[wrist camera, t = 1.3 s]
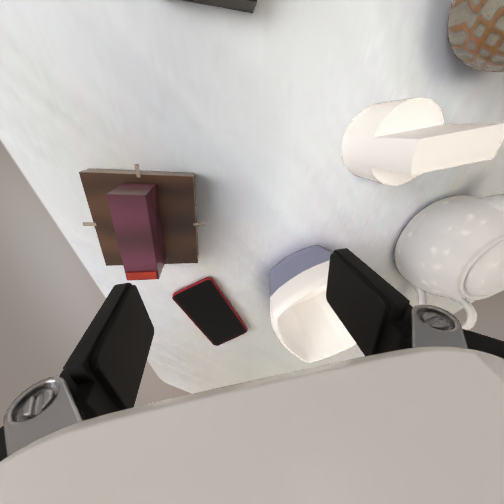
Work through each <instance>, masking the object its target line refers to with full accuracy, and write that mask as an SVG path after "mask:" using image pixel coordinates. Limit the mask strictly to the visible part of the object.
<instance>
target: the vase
mask: <svg viewBox="0 0 504 504" xmlns="http://www.w3.org/2000/svg"><path fill="white" fill-rule="evenodd" d="M448 35H449V41H450V45H451V48H452V50H453V52H454V54H455V55H456V56H457V57H458V59H459V60H461V61H462V62H463V63H464V64H466V65H468V66H469V67H472V68H475V69H478V70H481V71H488V72H504V0H453V2H452V5H451V9H450V14H449V21H448Z"/></svg>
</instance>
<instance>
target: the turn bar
mask: <svg viewBox="0 0 504 504" xmlns="http://www.w3.org/2000/svg"><path fill="white" fill-rule="evenodd" d="M106 197H107V201H108V205H109V209H110V213H111V217H112V221H113V225H114V229H115V233H116V237H117V241H118V245H119V249H120V253H121V257H122V261H123V265H124V269H125V273H126V278H127V280H148V279H159V277H160V274H161V271H162V268H163V265H164V262H165V259H166V255H165V247H164V240H163V233H162V225H161V218H160V210H159V203H158V196H157V188H156V184H137V183H123V184H121V185H120V186H118V187H117V188H115V189H113V190H112V191H110V192H109V193H107V194H106Z"/></svg>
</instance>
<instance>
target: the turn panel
mask: <svg viewBox="0 0 504 504" xmlns="http://www.w3.org/2000/svg"><path fill="white" fill-rule="evenodd" d="M135 169H136V170H113V169H87V170H84V171H81V172H79V174H80V177H81V181H82V184H83V188H84V191H85V194H86V198H87V201H88V205H89V208H90V211H91V215H92V218H93V222H94V223H83V225H84V226H95V229H96V232H97V235H98V239H99V242H100V246H101V249H102V253H103V256H104V259H105V263H106V266H108V265H123V261H122V257H121V253H120V249H119V245H118V241H117V237H116V233H115V229H114V225H113V221H112V217H111V213H110V209H109V205H108V201H107V197H106V194H107V193H109V192H110V191H112V190H113V189H115V188H117V187H118V186H120V185H121V184H123V183H137V184H156V188H157V196H158V203H159V210H160V218H161V225H162V233H163V240H164V247H165V255H166V259H165V262H164V264H176V263H198V255H199V253H198V234H197V226H204V223H197V215H196V196H195V178H194V173H182V172H159V171H139V165H138V164H135Z"/></svg>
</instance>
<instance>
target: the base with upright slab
mask: <svg viewBox="0 0 504 504" xmlns="http://www.w3.org/2000/svg"><path fill="white" fill-rule="evenodd" d="M503 137H504V123H469V124H444V118H443V114H442V112H441V109H440V107H439V106H438V105H437V104H436V103H435V102H434V101H432V100H430V99H427V98H410V99H404V100H397V101H391V102H384V103H378V104H374V105H371V106H368V107H367V108H365V109H364V110H362V111H361V112H360V113H359V114H358V115H357V116H356V117H355V118H354V119H353V120H352V122H351V123H350V125H349V126H348V128H347V130H346V133H345V135H344V138H343V143H342V159H343V162H344V165H345V166H346V168H347V169H348V170H349V171H350V172H351V173H353V174H354V175H356V176H360V177H363V178H366V179H369V180H373V181H376V182H379V183H382V184H386V185H390V186H393V185H401V184H404V183H407V182H409V181H410V180H412V179H414V178H415V177H417V176H418V175H419V174H421V173H426V172H431V171H436V170H441V169H446V168H451V167H456V166H460V165H465V164H470V163H475V162H480V161H485V160H490V159H493V158H494V157H495V155H496V153H497V151H498V149H499V147H500V145H501V143H502V141H503Z"/></svg>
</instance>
